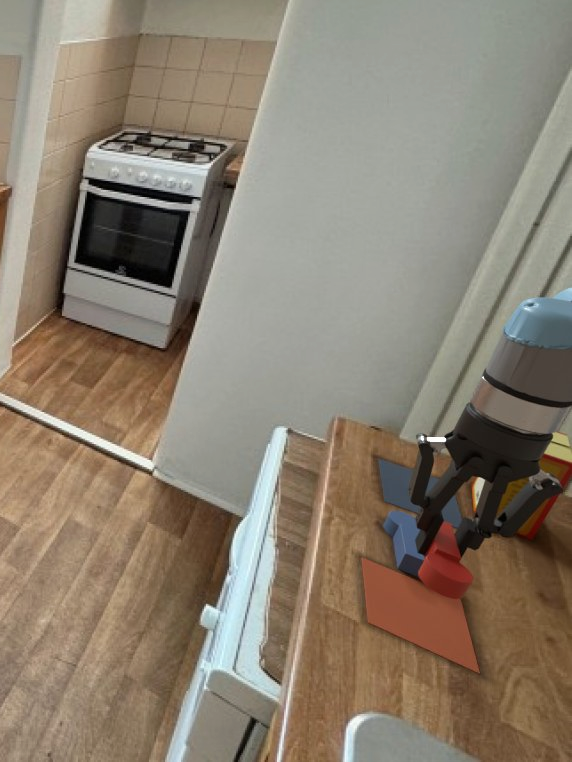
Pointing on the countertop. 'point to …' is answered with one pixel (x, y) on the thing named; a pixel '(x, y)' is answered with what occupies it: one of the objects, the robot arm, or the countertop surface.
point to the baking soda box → (553, 461)
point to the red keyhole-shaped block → (445, 566)
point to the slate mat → (398, 494)
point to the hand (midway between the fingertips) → (435, 553)
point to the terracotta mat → (417, 614)
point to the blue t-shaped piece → (404, 541)
